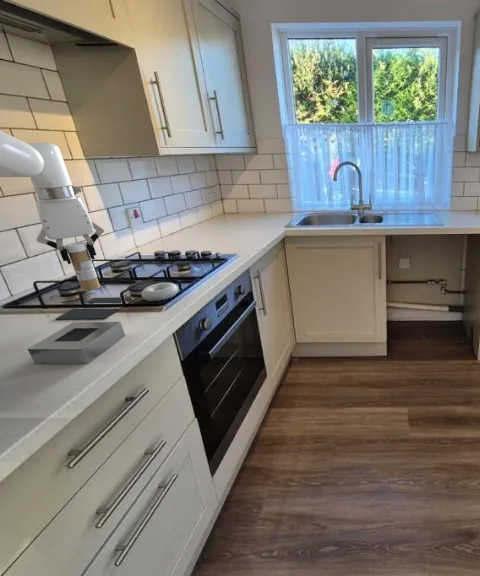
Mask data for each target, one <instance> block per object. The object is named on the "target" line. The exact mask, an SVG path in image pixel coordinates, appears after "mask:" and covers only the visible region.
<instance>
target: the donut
mask: <svg viewBox="0 0 480 576" xmlns="http://www.w3.org/2000/svg"><path fill="white" fill-rule="evenodd" d="M178 292H179V287H178V285H177V284H175V283H173V282H158V283H154V284H151V285H148V286H147V287H145V288H143V290H142V291H141V294H140V295H141V298H142V300H144V301H147V302H151V303H153V302H154V301H157V302H162V301H161V300H163V301H166V300H169V299H171V298H173V297H175V296H176V295H177V294H178ZM168 298H169V299H168ZM165 299H166V300H165Z"/></svg>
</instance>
